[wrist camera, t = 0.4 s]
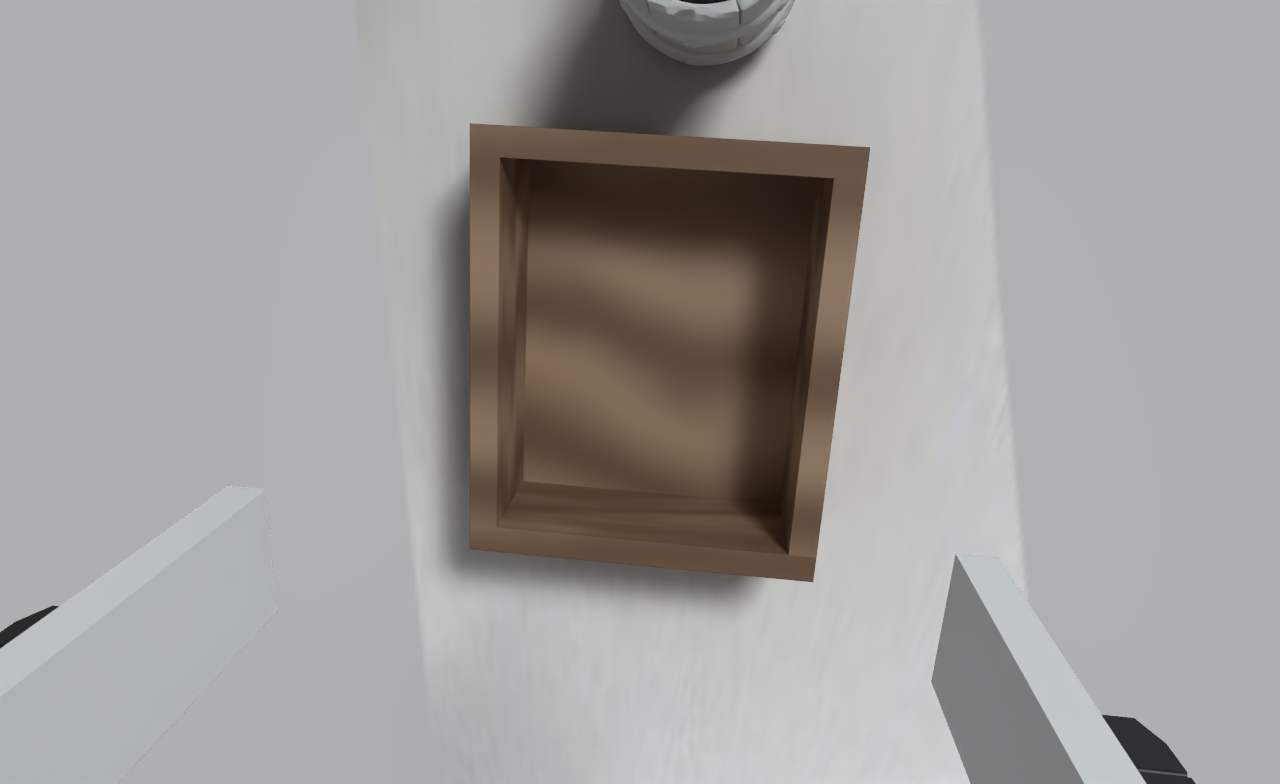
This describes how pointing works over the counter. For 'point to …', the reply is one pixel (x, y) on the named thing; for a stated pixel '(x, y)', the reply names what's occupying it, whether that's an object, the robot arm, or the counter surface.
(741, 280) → the wooden box
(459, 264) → the counter surface
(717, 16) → the mug
